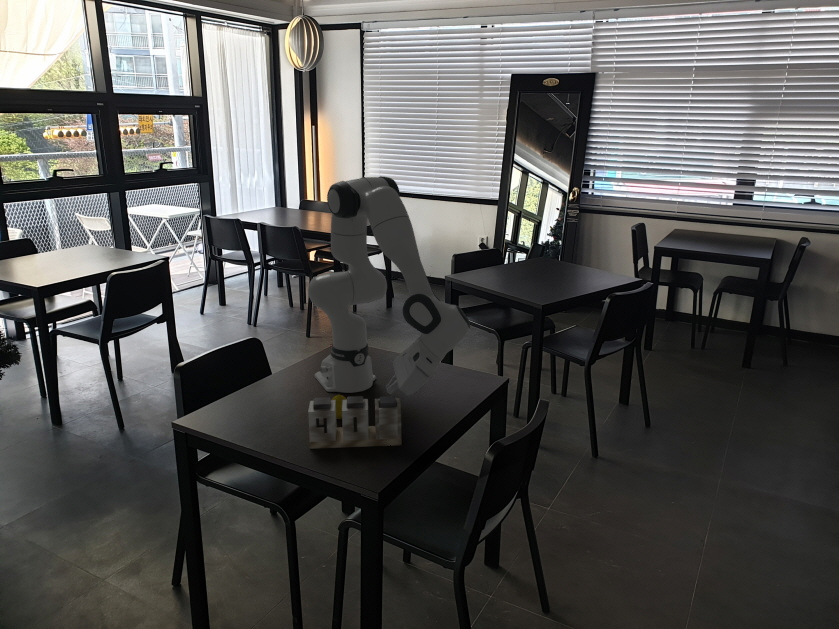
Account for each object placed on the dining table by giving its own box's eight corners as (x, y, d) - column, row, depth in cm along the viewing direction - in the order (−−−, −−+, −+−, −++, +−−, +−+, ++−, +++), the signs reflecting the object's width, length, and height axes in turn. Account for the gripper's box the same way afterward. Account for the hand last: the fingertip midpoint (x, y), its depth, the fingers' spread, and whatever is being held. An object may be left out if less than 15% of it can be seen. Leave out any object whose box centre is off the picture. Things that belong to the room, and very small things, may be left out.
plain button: (380, 424, 178) (379, 403, 176) (379, 417, 182) (379, 396, 180) (396, 424, 178) (396, 402, 176) (395, 417, 182) (395, 396, 180)
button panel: (309, 448, 176) (307, 408, 172) (312, 433, 184) (310, 394, 181) (401, 445, 177) (401, 405, 174) (399, 429, 186) (399, 391, 182)
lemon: (349, 414, 195) (348, 390, 193) (348, 423, 190) (347, 398, 188) (331, 415, 195) (330, 390, 193) (329, 423, 190) (328, 398, 187)
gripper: (410, 336, 184) (376, 369, 186) (419, 361, 165) (382, 399, 167) (425, 350, 186) (392, 383, 188) (436, 377, 167) (399, 413, 169)
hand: (387, 390), depth 177 cm, fingers closed
